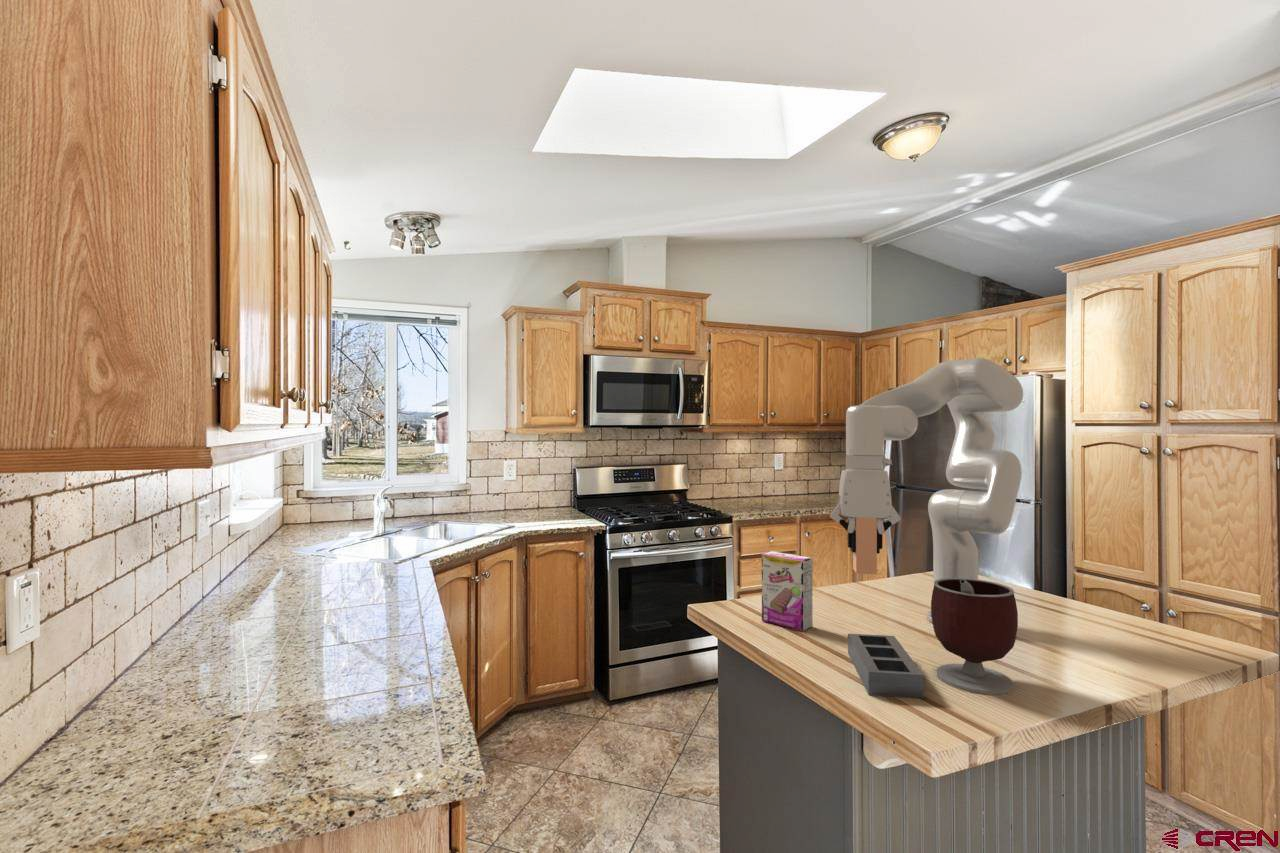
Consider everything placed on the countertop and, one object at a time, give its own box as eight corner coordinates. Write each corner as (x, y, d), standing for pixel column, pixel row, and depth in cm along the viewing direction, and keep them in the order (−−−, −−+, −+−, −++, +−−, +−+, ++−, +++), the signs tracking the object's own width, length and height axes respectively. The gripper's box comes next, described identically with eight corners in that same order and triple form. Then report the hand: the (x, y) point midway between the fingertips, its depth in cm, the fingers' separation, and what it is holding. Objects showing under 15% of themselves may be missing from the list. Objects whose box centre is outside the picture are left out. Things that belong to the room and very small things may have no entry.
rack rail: (894, 655, 121) (894, 635, 121) (924, 698, 102) (923, 675, 102) (848, 653, 123) (847, 633, 123) (868, 695, 103) (868, 671, 103)
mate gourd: (941, 659, 119) (940, 559, 119) (1023, 677, 110) (1022, 569, 111) (920, 685, 107) (919, 573, 108) (1010, 707, 98) (1009, 585, 99)
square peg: (872, 570, 126) (873, 508, 127) (876, 574, 122) (876, 510, 123) (853, 569, 127) (853, 508, 127) (856, 573, 123) (856, 510, 123)
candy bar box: (760, 621, 143) (760, 553, 144) (771, 617, 147) (771, 550, 147) (803, 632, 136) (802, 560, 136) (813, 627, 140) (813, 556, 140)
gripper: (903, 464, 127) (903, 550, 127) (821, 462, 130) (821, 547, 130) (912, 465, 120) (912, 557, 120) (825, 464, 123) (825, 553, 123)
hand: (864, 550), depth 125 cm, fingers closed on square peg, 4 cm apart
